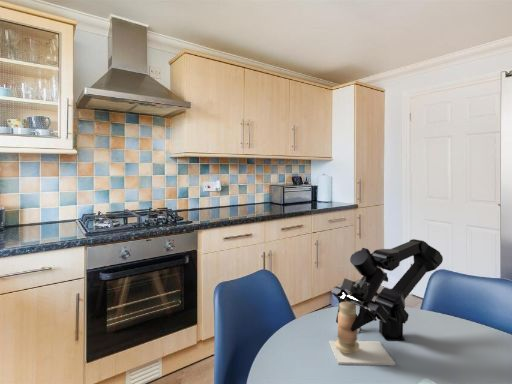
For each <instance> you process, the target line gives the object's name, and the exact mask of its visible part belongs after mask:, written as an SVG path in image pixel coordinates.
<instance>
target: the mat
mask: <svg viewBox="0 0 512 384" xmlns="http://www.w3.org/2000/svg"><path fill="white" fill-rule="evenodd" d="M356 342H357V343H358V344H359V350H358V351H357V352H355V353H345V352H342V351H340V350H338V349H337V348H336V340H329V345H330V347H331V350H332V353H333V354H334V357H335V360H336V362H337V364H338V365H359V366H360V365H362V366H363V365H365V366H396V363H395V361H394V360H393V357H391V355H389V353H388V351H387V349H385V347H384V346H383V345H382V343H381V342H380V341H379V340H378V341H376V340H375V341H374V340H369V341H368V340H356Z"/></svg>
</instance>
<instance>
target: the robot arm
mask: <svg viewBox="0 0 512 384" xmlns="http://www.w3.org/2000/svg"><path fill="white" fill-rule="evenodd" d="M411 257H413V263H412V265H410V267H409V268H408V269H407V270H406V272H405V273H404V274H403V275H402V276H401V277H400V279H399V280H398V281H397V282H396V283H395V284H394V285H393V287H392V288H388V287H383V288H382V289H381V291H380V292H379V293H378V291H379V288H380V287H381V285H382V283H383V282H386V283H387V282H389V277H388V273H387V272H385V270H386V271H389V272H392V271H394V270H396V269H397V268H398V267H399V266H400V264H401V262H402V261H404V260H407V259H408V258H411ZM443 261H444V257H443V255H442V254H441V251H439V250H437V249H436V248H434V247H432V246H431V245H429V244H428V243H427V242H426V241H424V240H421V239H417V238H412V239H409V241H406V242H404V243H402V244H400V245H397V246H395V247H392V248H380V249H375V250H373V251H372V253H371V251H370V250H369V249H368V248H365V247H362V248H361V250H356V251H355V252H354V253H352V254H351V255H350V258H349V262H350V263H351V264H352V266H353V267H354V269H355V270H356V271H357V272H358V273H359V274H360V276H362V277H361V279H356V280H355V281H353V280H350V279H348V278H344V279H343V281H342V283H341V287H339V286H334V287H333V288H332V289H331V291H330V293H331V294H332V295H333V297H334V298H335V299H336V300H337V301H338V304H339V303H341V302H351V303H354V304H355V305H356V306H358V307H359V311H358V312H359V313H358V314H357V318H356V319H355V321H354V323H353V325H352V327H351V331H355V330H357V329H358V328H360V329H361V328H362V327H363V326H365V325H368V324H369V323H371V322H373V321H375V322H376V321H377V320H379V322H378V323H379V324H378V325H379V326H378V328H379V329H378V332H379V334H380V335H381V337H383V338H384V340H386V341H405V340H406V338H405V336H404V324H406V322H408V319H409V316H410V315H409V313H408V311H406V309H405V308H406V302H405V301H406V298H408V296H409V295H410V294H411V293H412V291H413V290H414V289H415V288H416V286H417V285H418V283H420V281H421V280H422V279H423V277H424V276H425V275H426V274H427V273H428V272H431V271H434V270H437V268H439V266H441V265H442V263H443ZM383 270H384V271H383ZM346 290H347V291H346ZM374 297H376V298H375V299H374ZM373 299H374V300H373ZM338 312H339V307H338V308H337V314H336V320H335V322H336V324H338Z"/></svg>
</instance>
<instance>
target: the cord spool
mask: <svg viewBox="0 0 512 384" xmlns="http://www.w3.org/2000/svg"><path fill="white" fill-rule="evenodd" d="M338 308H339V312H338V311H337V313H338V323H337V339H336V340H335V341H336V348H337V349H338V350H340V351H342V352H345V353H355V352H357V351H358V350H359V344H358V343H357V342H356V341H358V333H357V330H355V331H351V327H352V325H353V323H354V321H355V319H356V318H357V316H358V314H357V305H355V304H354V303H351V302H341V303H339V302H338Z"/></svg>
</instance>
